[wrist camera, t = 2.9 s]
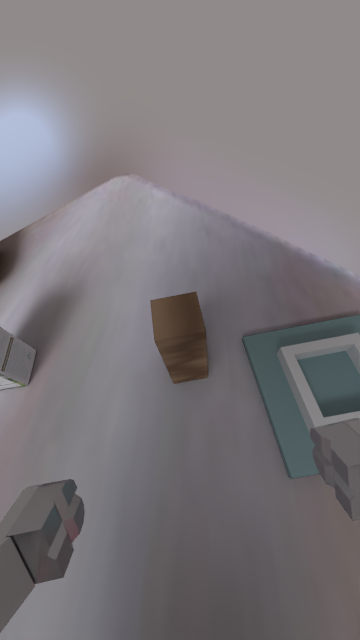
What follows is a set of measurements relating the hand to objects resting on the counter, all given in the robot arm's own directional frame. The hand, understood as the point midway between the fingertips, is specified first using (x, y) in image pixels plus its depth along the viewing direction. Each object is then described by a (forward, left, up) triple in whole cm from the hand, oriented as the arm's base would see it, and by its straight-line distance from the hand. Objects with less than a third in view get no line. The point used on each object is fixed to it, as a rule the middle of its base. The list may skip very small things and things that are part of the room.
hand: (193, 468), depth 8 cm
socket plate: (+16, +6, -20) cm, 27 cm away
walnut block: (0, +12, -20) cm, 23 cm away
